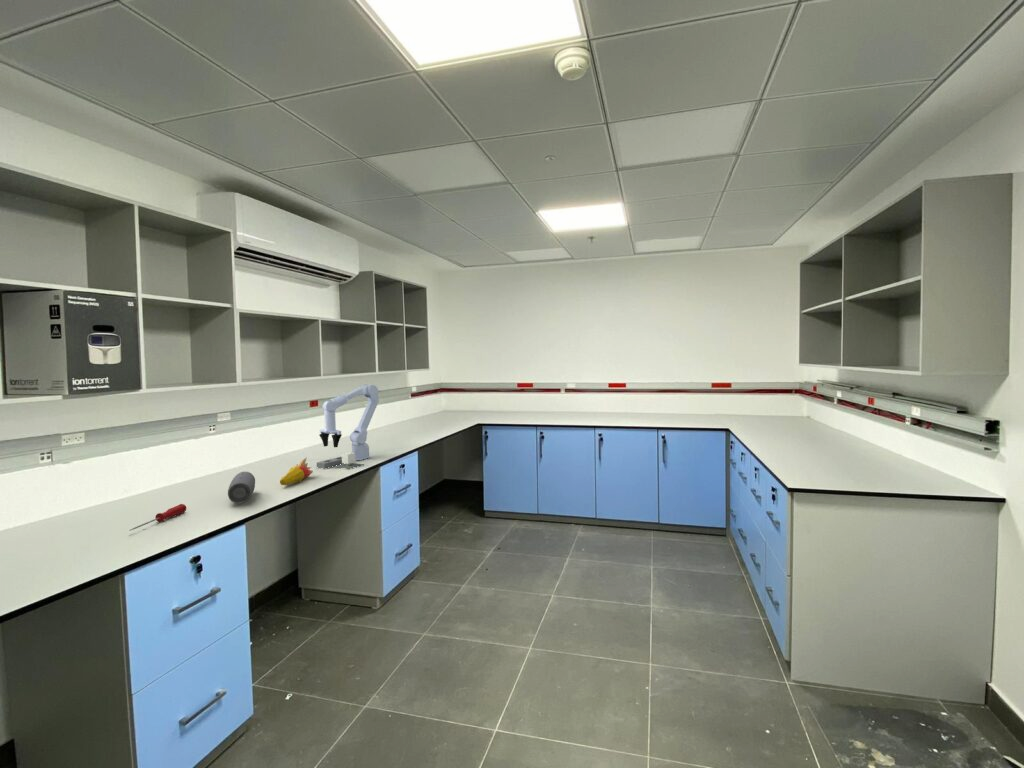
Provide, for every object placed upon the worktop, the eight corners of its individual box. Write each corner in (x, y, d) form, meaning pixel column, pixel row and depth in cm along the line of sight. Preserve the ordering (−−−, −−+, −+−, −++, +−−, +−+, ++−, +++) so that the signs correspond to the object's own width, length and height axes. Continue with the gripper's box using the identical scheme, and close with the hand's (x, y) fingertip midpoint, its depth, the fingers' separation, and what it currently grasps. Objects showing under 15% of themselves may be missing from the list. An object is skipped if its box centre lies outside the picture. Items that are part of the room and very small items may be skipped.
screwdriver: (124, 535, 165) (124, 525, 165) (178, 512, 190) (178, 503, 190) (134, 535, 165) (134, 525, 164) (187, 512, 190) (187, 503, 189)
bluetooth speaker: (232, 493, 215) (231, 471, 214) (256, 491, 219) (255, 469, 218) (226, 508, 194) (225, 483, 194) (253, 505, 198) (252, 480, 197)
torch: (281, 496, 224) (305, 476, 248) (295, 488, 223) (318, 469, 247) (271, 481, 222) (296, 462, 247) (285, 473, 221) (309, 455, 246)
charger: (348, 464, 271) (348, 452, 271) (355, 464, 269) (354, 452, 269) (342, 465, 267) (341, 453, 266) (348, 466, 265) (347, 454, 264)
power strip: (342, 461, 281) (341, 455, 281) (349, 462, 278) (349, 456, 278) (316, 468, 265) (316, 461, 265) (324, 469, 262) (324, 462, 262)
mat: (348, 463, 275) (348, 462, 275) (363, 465, 271) (363, 464, 271) (333, 467, 266) (333, 466, 266) (348, 469, 261) (348, 468, 261)
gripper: (315, 422, 275) (315, 446, 276) (334, 424, 269) (334, 448, 269) (324, 421, 281) (325, 444, 282) (343, 422, 275) (344, 446, 276)
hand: (330, 446), depth 276 cm, fingers open, 7 cm apart
